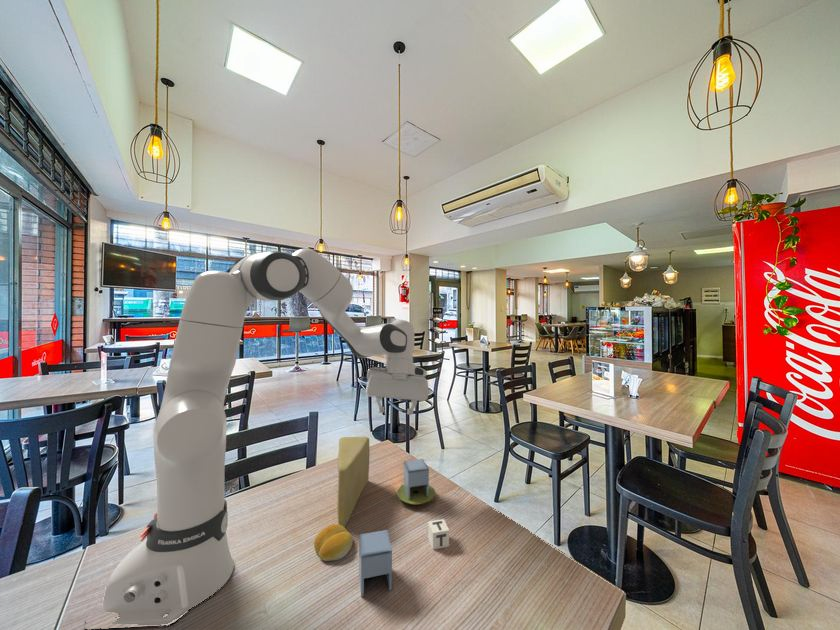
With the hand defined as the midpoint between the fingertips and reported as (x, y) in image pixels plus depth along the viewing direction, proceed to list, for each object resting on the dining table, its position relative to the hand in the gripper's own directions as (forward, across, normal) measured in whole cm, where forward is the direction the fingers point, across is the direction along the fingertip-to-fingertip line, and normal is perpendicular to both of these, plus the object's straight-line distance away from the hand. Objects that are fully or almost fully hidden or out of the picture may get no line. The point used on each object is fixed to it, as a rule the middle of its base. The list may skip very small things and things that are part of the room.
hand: (395, 413), depth 98 cm
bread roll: (+31, -16, -12) cm, 37 cm away
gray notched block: (+33, -8, -23) cm, 41 cm away
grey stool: (+22, +8, -1) cm, 23 cm away
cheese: (+25, -11, +4) cm, 28 cm away
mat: (+24, +8, -1) cm, 25 cm away
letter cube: (+29, +8, -18) cm, 35 cm away
